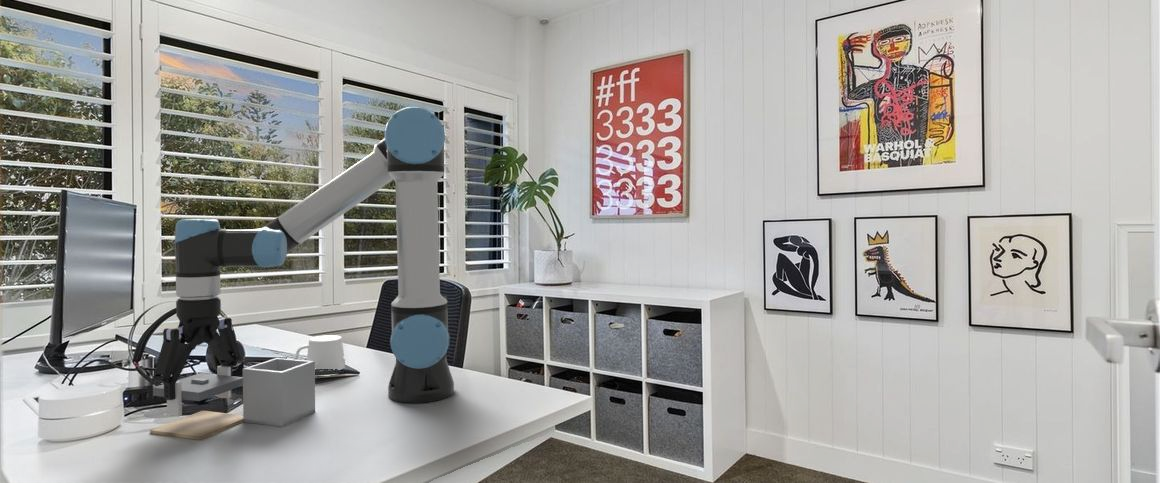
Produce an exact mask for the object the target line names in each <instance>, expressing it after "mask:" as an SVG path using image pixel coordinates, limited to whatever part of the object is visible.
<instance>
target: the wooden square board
mask: <svg viewBox="0 0 1160 483" xmlns="http://www.w3.org/2000/svg"><path fill="white" fill-rule="evenodd" d="M241 423H245V422H244V419H243V415H242V414H237V413H236V414H235V413H234V414H233V413H228V412H227V413H226V412H225V413H224V412H218V411H210V410H200V411H198V412H195V413H193V414H190V415H187V416H184V417H181V418H179V419H175V420H173V421H171V422H168V423H166V424H165V423H164V424H163V425H160V426H157V427H154V428H153V429H150V430H149V433H150V434H153V435H161V436H169V437H176V438H184V439H192V440H199V441H201V440H203V439H205V438H208V437H210V436H213V435H216V434H218V433H220V432H222V431H224V430H227V429H229V428H232V427H234V426H236V425H239V424H241Z"/></svg>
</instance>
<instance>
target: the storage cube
mask: <svg viewBox="0 0 1160 483" xmlns="http://www.w3.org/2000/svg"><path fill="white" fill-rule="evenodd" d="M242 377H243V386H242V403H243V404H242V407H243V409H242V412H243V419H244V422H243V423H249V424H258V425H266V426H274V427H275V426H276V427H286V426H288V425H290V424H292V423H294V422H297V421H299V420H301V419H303V418H305V417H307V416H309V415H311V414H313V413H315V412H316V377H315V361H307V359H304V360H303V359H299V360H296V358H295V359H293V358H285V357H284V358H283V357H276V358H272V359H269V360H266V361H263V362H259V363H257V364H254V365H253V364H252V365H250V366H248V367H244V368H242Z"/></svg>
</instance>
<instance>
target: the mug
mask: <svg viewBox="0 0 1160 483" xmlns="http://www.w3.org/2000/svg"><path fill="white" fill-rule="evenodd" d="M305 349H307V354H306V360H307V361H315V368H316V369H333V370H335V369H343V368H345V369H346V357H345V353H344V344H343V338H342V335H341V336H340V335H337V334H336V335H335V334H325V335H316V336H313V337H310V338H309V340H308V343H307V344H304V345H300V346H299V347H298V348H297V349H296V353H295V359H296V360H300V352H301V351H302V350H305Z"/></svg>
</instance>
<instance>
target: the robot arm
mask: <svg viewBox="0 0 1160 483" xmlns="http://www.w3.org/2000/svg"><path fill="white" fill-rule="evenodd" d="M444 128H445V127H444V126H443V123H442V122H441V121H440V119H439V118H438V117H437V116H436V115H435V114H434V113H432V112H431V111H430V110H427V109H425V108H424V107H418V106H408V107H404V108H401V109H399V110H398V111H396V112H395V113H394V114H392V116H391V117H390V118H389V119H388V121H387V123H386V125H385V129H384V134H383V135H384V136H383V137H384V138H383V139H381V141H379V142H378V143H376V144H374V146H373V151H372V152H371V153H370V154H368V155H367V156H365V157H364V158H363V159H361V160H359V161H358V162H357V163H355V164H353V165H352V166H350V167H349V168H348V169H347V170H345V171H343V172H342V173H341V174H339V175H337V176H336V177H335V178H333V179H331V180H330V181H329V182H327V183H326V184H324V185H323V186H321V187H320V188H318V189H317V190H316V191H314V192H313V193H311V194H310V195H308V196H307V197H305V198H303V199H302V200H301V201H299V202H298V203H296V204H295V205H293V206H292V207H290V208H289V209H288V210H286V211H284V212H283V213H282V214H280V215H278V216H277V217H276V218H274V219H272V220H270V222H268V223H267V224H265V225H264V226H262V227H260V228H253V229H252V228H251V229H224V228H221V226H220V222H219V220H218V219H213V218H212V219H211V218H207V219H206V218H187V219H186V218H184V219H180V220H178V221H177V222H176V224H175V231H174V232H175V233H174V243H173V244H174V257H175V259H174V260H175V296H176V297H178V299H177V300H176V301H175V305H176V306H175V308H176V309H175V310H176V312H175V314H176V315H175V316H176V317H177V319H178V321H179V322H178V325H177V327H174V328H170V327H169V328H167V327H166V328H164V329H163V332H162V334H163V336H162V338H163V340H162V346H161V349H160V352H159V356H158V358H157V363H156V366H155V369H154V373H153V376H152V381H153V382H158V383H162V385H163V384H164V397H163V398H164V400H165V401H166V415H167V416H170V417H182V416H183V404H182V400H183V399H182V396H181V382H178V381H177V380H179V378H180V375H181V374H182V372H183V370H184V368H185V365H186V363H187V362H188V360H189V357H190V356H191V353H192V351H193V350H195V349H196V347H197V346H200V345H202V344H207V345H208V348H209V349H210V350H211V352H212V353H213V355H214V356H215V357H216V359H217V360H218V363H220V365H217V368H216V372H217V374H216V375H225V376H233V373H234V372H233V371H234V370H233V368H234V367H236V366H237V365H238V361H241V359H242V354H241V353H240V350H239V346H238V344H237V340H236V336H235V334H234V331H233V324H232V323H233V322H232V321H233V320H232V318H231V317H223V316H222V317H220V315H221V312H222V306H221V305H222V304H221V301H222V300H221V298H220V296H219V295H221V289H222V288H221V268H228V267H235V268H236V267H237V268H239V267H240V268H241V267H245V268H247V267H248V268H249V267H250V268H253V267H254V268H255V267H257V268H265V269H266V268H268V267H269V268H271V267H272V268H273V267H280V266H283V264H285V262H286V260H287V255H288V254H289V253H290V252H291V251H293V249H295V248H297V247H298V246H299V245H301V244H302V243H304V242H305V241H306V240H308V239H310V237H311V238H312V236H314V235H315V234H317V233H318V232H319V231H322V230H323V229H324V228H325V227H327V226H328V225H330V224H332V223H333V222H334V221H335V220H338V218H340V217H341V216H343V215H344V214H346V213H347V212H349V211H350V210H351V209H353V208H355V207H356V206H357V205H358V204H360V203H362V202H363V201H364V200H366V199H368V198H369V197H370V196H372V195H373V194H374V193H376V192H378V191H379V190H381V189H382V188H384V187H385V186H387V185H388V184H390V183H391V182H392V181H394V182H395V215H396V216H395V217H396V219H395V220H396V249H397V250H396V252H397V282H398V283H397V287H398V288H397V290H398V291H397V292H398V295H397V296H396V297H395V299H394V300H393V301H392V302H391V308H390V309H391V310H390V311H391V334H390V339H389V344H390V349H391V351H392V353H393V356H394V358H395V364H394V368H393V369H392V373H391V377H390V379H389V383H388V386H387V390H388V391H387V392H388V393H387V395H388V398H389V399H390V400H393V401H395V402H399V403H409V404H410V403H411V404H417V403H418V404H419V403H421V404H422V403H430V402H436V401H440V400H443V399H447V398H449V397H450V396H452V395H453V394H454V392H455V383H454V379H453V375H452V372H451V369H450V367H449V364H448V361H447V350H448V349H449V347H450V340H451V339H450V333H449V324H448V323H449V320H448V318H449V317H448V312H449V311H448V299H447V298H446V297H444V296H443V295H442V294H441V286H440V285H441V284H440V283H441V280H440V279H441V278H440V246H439V244H440V242H439V240H440V239H439V234H440V233H439V203H438V202H439V198H438V197H439V194H438V183H439V180H440V179H441V178H442V177H443V176H444V175H445V149H444V147H445V142H446V135H445V134H446V132H445V129H444ZM217 398H221V399H230V398H232V390H229V391H227V392H224V393H221V394H218V395H217Z"/></svg>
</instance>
